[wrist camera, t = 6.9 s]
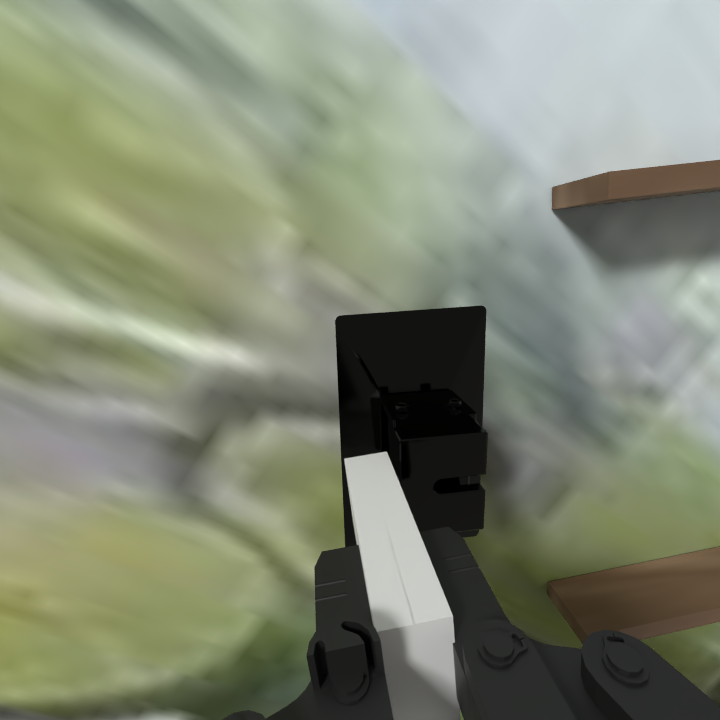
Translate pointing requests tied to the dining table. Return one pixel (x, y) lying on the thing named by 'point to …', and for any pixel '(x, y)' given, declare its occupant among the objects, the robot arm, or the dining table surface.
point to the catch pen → (662, 576)
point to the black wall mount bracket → (417, 409)
